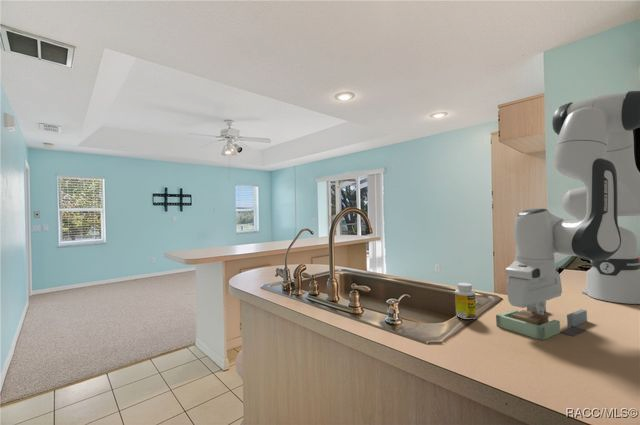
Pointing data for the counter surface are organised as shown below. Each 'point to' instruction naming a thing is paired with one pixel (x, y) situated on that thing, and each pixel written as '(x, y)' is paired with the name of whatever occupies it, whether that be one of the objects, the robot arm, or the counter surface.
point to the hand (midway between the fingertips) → (537, 317)
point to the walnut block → (530, 317)
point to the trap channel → (544, 329)
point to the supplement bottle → (465, 301)
